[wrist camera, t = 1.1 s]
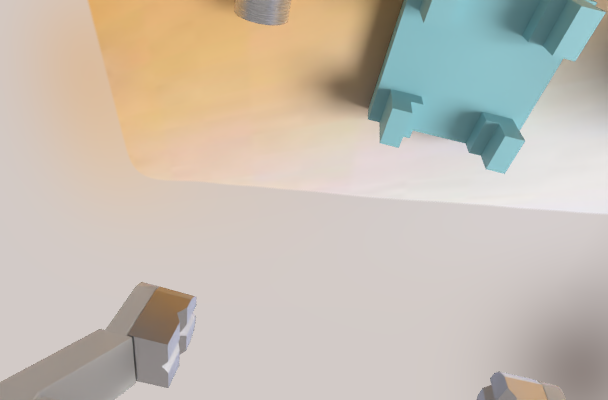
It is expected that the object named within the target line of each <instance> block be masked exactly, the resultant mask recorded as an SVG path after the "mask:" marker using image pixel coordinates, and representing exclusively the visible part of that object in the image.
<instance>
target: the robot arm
mask: <svg viewBox="0 0 608 400" xmlns="http://www.w3.org/2000/svg"><path fill="white" fill-rule="evenodd" d="M195 307H196V297H195V296H192V295H188V294H184V293H181V292H177V291H173V290H170V289H166V288H163V287H159V286H155V285H151V284H147V283H143V282H141V283H140V284H138V285H137V286H136V287H135V288H134V290H133V291H132V293H131V294H130V296H129V297H128V298H127V300H126V302H125V303H124V304H123V306H122V307H121V309H120V310H119V311H118V313H117V314H116V316H115V317H114V319H113V320H112V321H111V323H110V324H109V326H108V327H107V329H106V330H102V329H99V330H97V331H95V332H93V333H91V334H89V335H88V336H86V337H84V338H82V339H80V340H78V341H77V342H74V343H73V344H71V345H69V346H67V347H65V348H63V349H61V350H60V351H58V352H56V353H54V354H52V355H50V356H48V357H47V358H45V359H43V360H41V361H39V362H37V363H35V364H33V365H31V366H30V367H28V368H26V369H24V370H22V371H20V372H18V373H16V374H15V375H13V376H11V377H9V378H7V379H5V380H3V381H1V382H0V400H115V399H116V398H117V397H118V396H120V395H121V394H123V393H124V392H125V391H126V390H128V389H129V388H130V387H132V386H133V385H134V384H135V383H136V381H139V382H144V383H148V384H153V385H157V386H162V387H166V388H168V387H169V386H170V383H171V381H172V379H173V377H174V375H175V373H176V371H177V369H178V367H179V355H180V354H181V353H183V352H184V351H186V349H187V347H188V345H189V343H190V340H191V337H192V334H193V331H194V327H195V319H196V316H195V315H194V313H193V311H194V309H195ZM490 380H491V384H492V385H490V386H487V387H484V388H482V390H481V391H480V393H479V394H478V397H477V400H566V399H565V396H564V394H563V392H562V390H561V389H560V388H559V387H558V386H556V385H552V384H548V383H544V382H540V381H536V380H534V379H529V378H525V377H521V376H516V375H512V374H508V373H504V372H497V373H494V375H493V376H492V377H491V378H490Z"/></svg>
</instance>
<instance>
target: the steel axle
mask: <svg viewBox="0 0 608 400" xmlns="http://www.w3.org/2000/svg"><path fill="white" fill-rule="evenodd" d="M290 4H291V0H235V13H236V14H237V15H238V16H239V17H241V18H243V19H245V20H248V21H251V22H254V23H259V24H265V25H282V24H285V23H287V22H288V16H289V10H290Z"/></svg>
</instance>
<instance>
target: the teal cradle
mask: <svg viewBox="0 0 608 400" xmlns="http://www.w3.org/2000/svg"><path fill="white" fill-rule="evenodd" d="M596 4H597V2H595V1H593V0H404V1H403V4H402V7H401V10H400V13H399V16H398V19H397V22H396V25H395V29H394V32H393V35H392V38H391V41H390V44H389V47H388V50H387V53H386V56H385V59H384V62H383V66H382V69H381V72H380V75H379V78H378V81H377V84H376V87H375V90H374V93H373V96H372V99H371V103H370V106H369V109H368V119H369V120H373V121H377V122H380V143H382V144H386V145H390V146H394V147H398V148H399V146H400V143H401V141H402V138H403V137H407V138H410V136H411V133H412V131H417V132H421V133H426V134H430V135H434V136H438V137H442V138H446V139H450V140H454V141H458V142H462V143H466V146H467V148H468V151H469V153H472V154H477V155H481V157H482V160H483V163H484V165H485V168H486V169H488V170H492V171H496V172H500V173H504V174H505V172H506V171H507V169H508V167H509V166H510V164H511V163H512V161H513V160H514V158H515V156H516V155H517V153H518V152H519V150H520V148H521V147H522V145H523V144H524V142H525V140H524V138H523V136H522V135H521V133H520V129H521V127H522V126H523V124H524V123H525V121H526V119H527V118H528V116H529V114H530V113H531V111H532V109H533V108H534V106H535V104H536V103H537V101H538V99H539V98H540V96H541V94H542V93H543V91H544V90H545V88H546V86H547V85H548V83H549V81H550V80H551V78H552V76H553V75H554V73H555V71H556V70H557V68H558V66H559V65H560V63H561V62H562V60H563V58H564V59H568V60H572V61H576V59H577V58H578V56H579V54H580V53H581V51H582V50H583V48H584V47H585V45H586V43H587V42H588V40H589V39H590V37H591V35H592V34H593V32H594V31H595V29H596V27H597V26H598V24H599V23H600V21H601V19H602V18H603V16H604V15H605V13H606V12H605V11H603V10H601V9H599V8H598V7H596Z"/></svg>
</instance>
